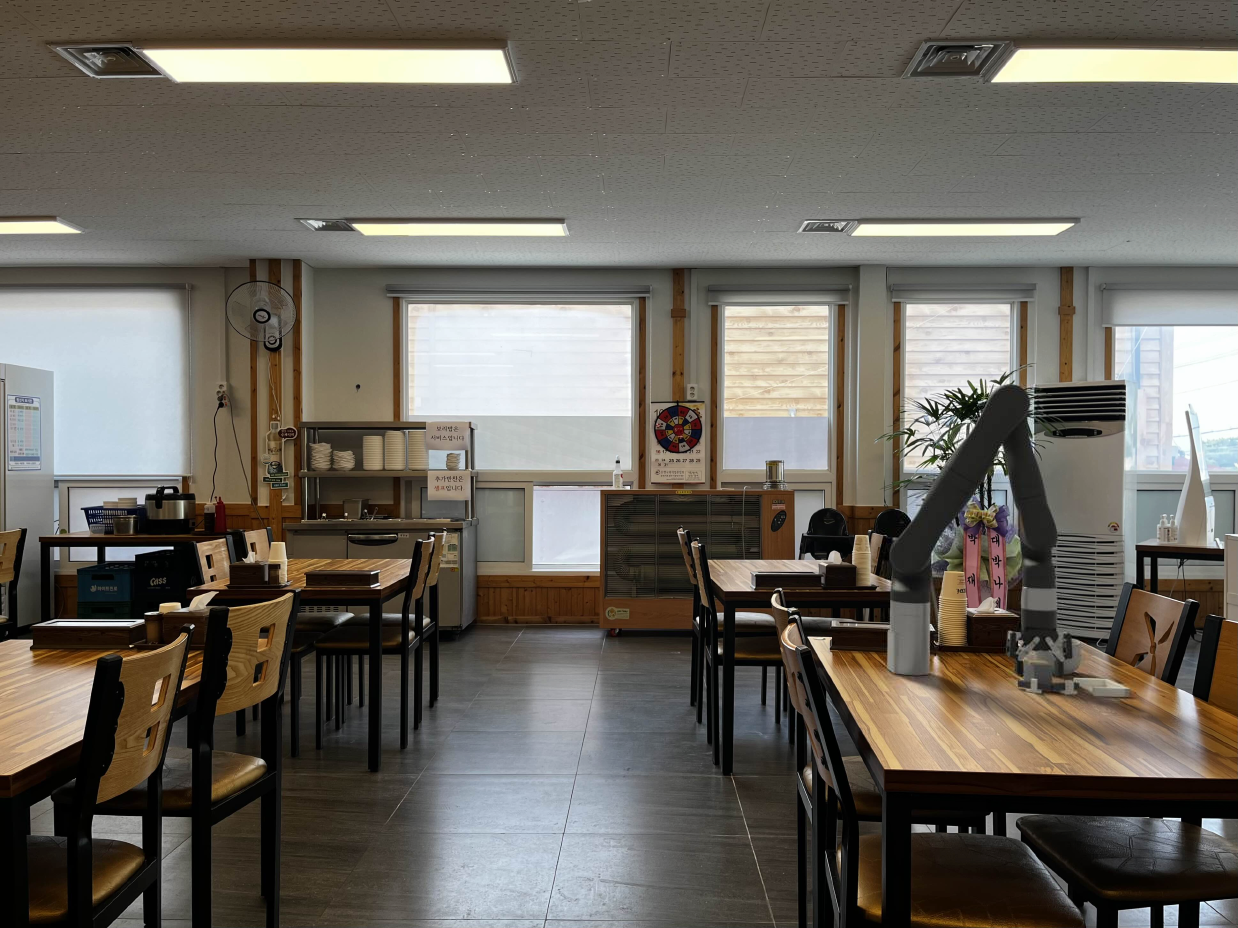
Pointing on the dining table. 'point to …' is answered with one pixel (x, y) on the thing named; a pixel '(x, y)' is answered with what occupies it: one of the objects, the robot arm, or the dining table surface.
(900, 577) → the robot arm
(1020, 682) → the cable run
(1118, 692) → the end holder
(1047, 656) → the teacup
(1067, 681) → the clips
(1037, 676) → the connector
